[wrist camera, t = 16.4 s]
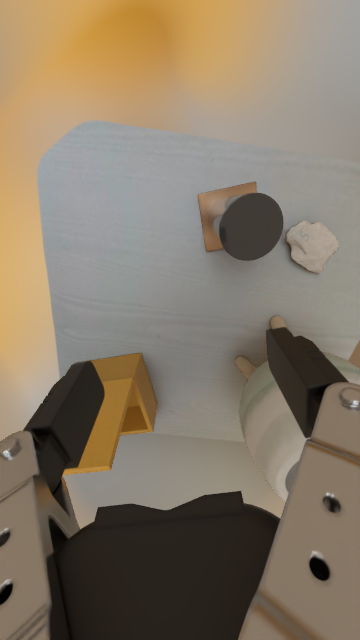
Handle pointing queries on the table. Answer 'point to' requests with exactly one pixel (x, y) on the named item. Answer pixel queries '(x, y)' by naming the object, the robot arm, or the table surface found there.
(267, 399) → the planter
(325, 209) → the table surface
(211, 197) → the pad
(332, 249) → the decorative stone
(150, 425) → the chest
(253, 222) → the dark grey cylinder
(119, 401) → the lid
